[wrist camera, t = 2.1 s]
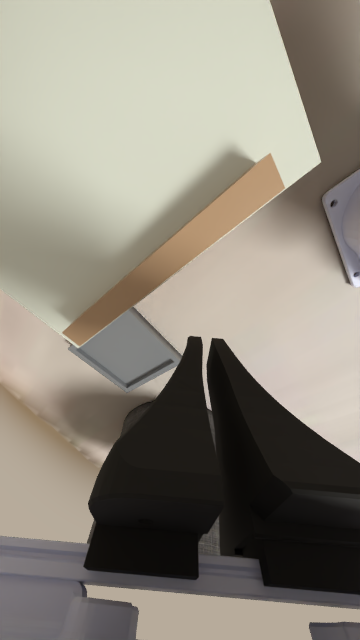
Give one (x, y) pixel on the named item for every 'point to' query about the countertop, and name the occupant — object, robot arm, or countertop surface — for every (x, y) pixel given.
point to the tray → (129, 351)
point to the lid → (135, 145)
